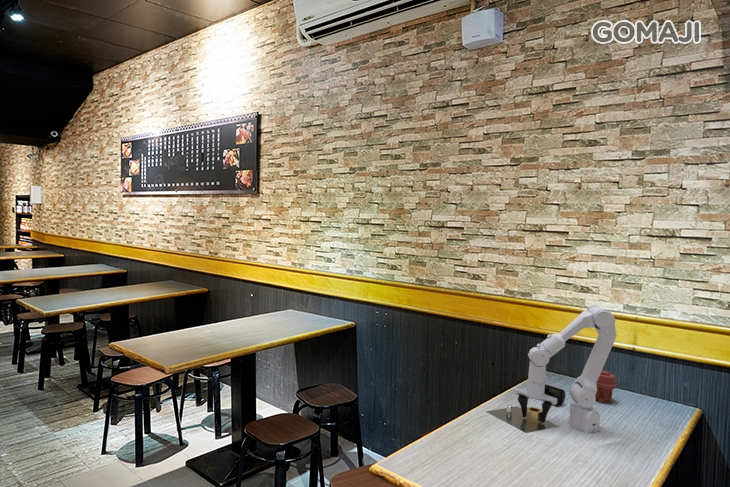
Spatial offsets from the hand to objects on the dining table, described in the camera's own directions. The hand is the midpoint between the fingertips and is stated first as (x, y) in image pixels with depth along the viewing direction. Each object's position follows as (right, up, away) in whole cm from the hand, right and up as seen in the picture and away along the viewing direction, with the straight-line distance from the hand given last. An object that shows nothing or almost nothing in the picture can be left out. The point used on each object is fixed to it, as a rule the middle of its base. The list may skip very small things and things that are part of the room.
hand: (533, 419), depth 173 cm
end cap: (+15, -3, +25) cm, 29 cm away
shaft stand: (-4, -2, +1) cm, 5 cm away
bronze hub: (0, -1, 0) cm, 1 cm away
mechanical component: (+40, -4, +31) cm, 51 cm away
